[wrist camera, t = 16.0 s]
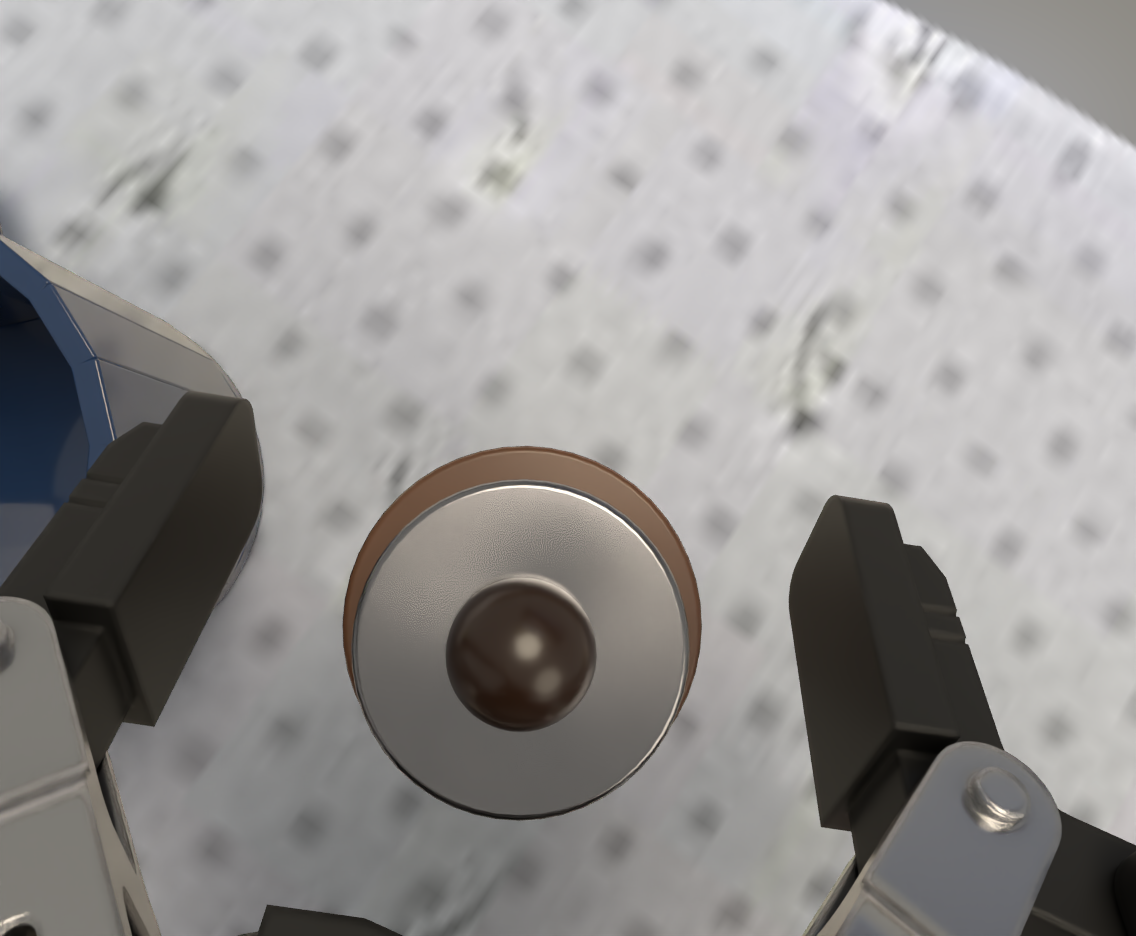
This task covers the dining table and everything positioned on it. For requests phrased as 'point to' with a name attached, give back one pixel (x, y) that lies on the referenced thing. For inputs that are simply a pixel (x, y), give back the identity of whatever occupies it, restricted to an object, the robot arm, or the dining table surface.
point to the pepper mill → (521, 631)
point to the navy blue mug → (79, 388)
